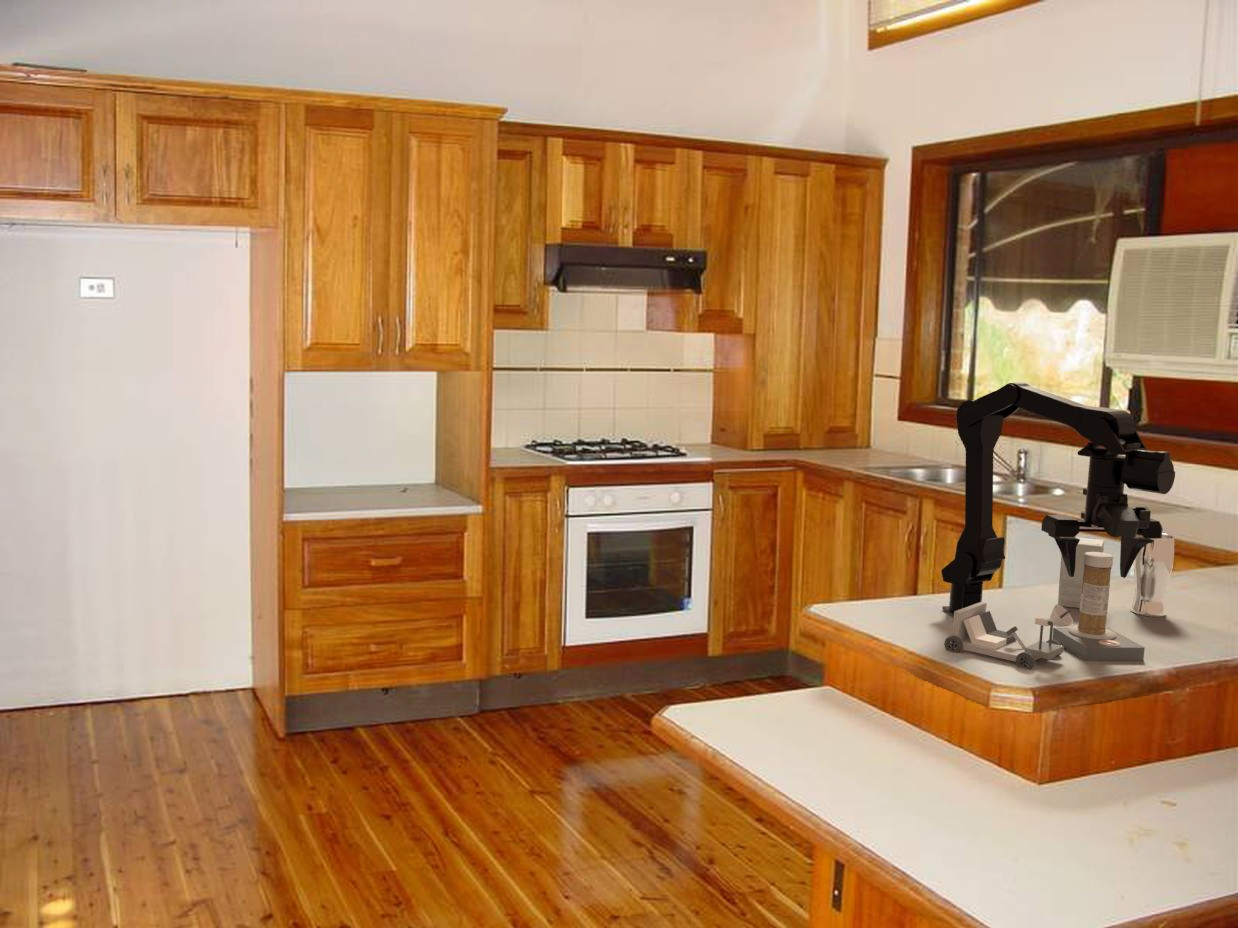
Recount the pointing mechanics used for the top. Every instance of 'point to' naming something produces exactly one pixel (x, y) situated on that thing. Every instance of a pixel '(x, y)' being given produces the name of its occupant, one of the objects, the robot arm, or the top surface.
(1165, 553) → the beer glass
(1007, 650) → the toy go kart
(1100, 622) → the sprinkles bottle
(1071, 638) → the kitchen scale
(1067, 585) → the supplement box
